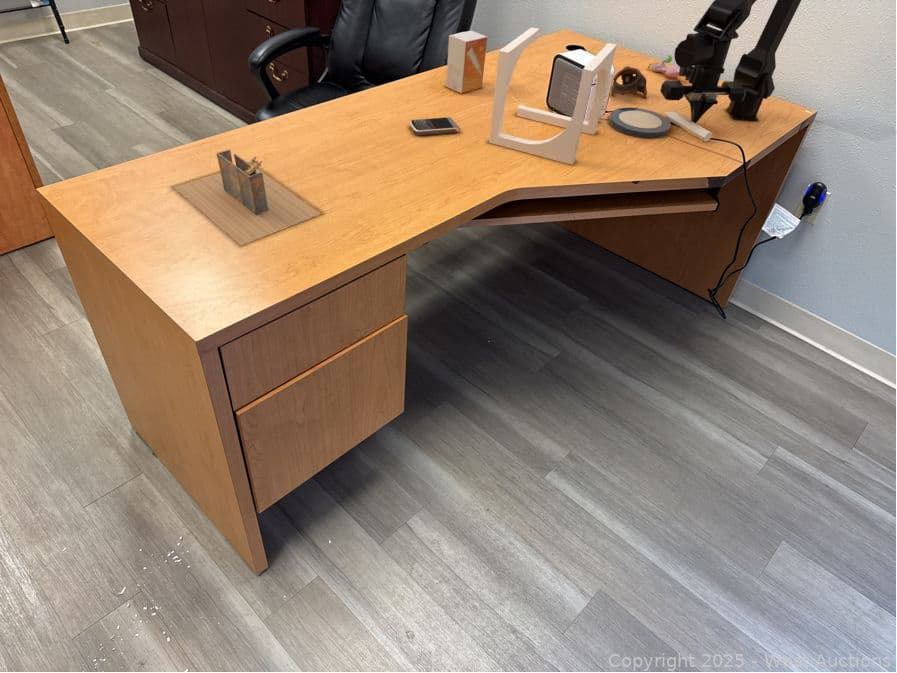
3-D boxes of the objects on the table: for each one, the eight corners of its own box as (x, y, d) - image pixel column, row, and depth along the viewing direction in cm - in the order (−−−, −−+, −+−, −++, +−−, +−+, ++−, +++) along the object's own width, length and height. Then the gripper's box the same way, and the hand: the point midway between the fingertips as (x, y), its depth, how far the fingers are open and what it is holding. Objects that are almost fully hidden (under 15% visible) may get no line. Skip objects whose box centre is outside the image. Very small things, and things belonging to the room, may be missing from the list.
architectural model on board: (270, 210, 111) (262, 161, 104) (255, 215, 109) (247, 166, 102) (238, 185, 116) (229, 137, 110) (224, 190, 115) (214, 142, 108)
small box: (461, 94, 158) (465, 41, 149) (445, 86, 161) (448, 34, 152) (482, 87, 162) (488, 36, 153) (466, 80, 165) (470, 29, 156)
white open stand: (488, 142, 137) (499, 50, 124) (519, 112, 151) (531, 27, 137) (572, 164, 132) (592, 71, 118) (596, 132, 145) (616, 44, 132)
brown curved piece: (652, 104, 162) (649, 79, 155) (617, 117, 165) (613, 93, 158) (641, 77, 168) (637, 52, 162) (607, 89, 171) (602, 66, 164)
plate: (661, 115, 156) (662, 109, 155) (675, 140, 145) (677, 134, 144) (603, 110, 155) (605, 105, 154) (614, 135, 144) (616, 129, 143)
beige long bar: (662, 118, 156) (706, 143, 146) (658, 114, 155) (702, 140, 144) (669, 108, 155) (714, 133, 145) (665, 105, 154) (709, 130, 143)
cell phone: (407, 125, 141) (408, 119, 140) (452, 122, 144) (452, 116, 143) (415, 137, 137) (415, 131, 136) (460, 133, 140) (461, 127, 139)
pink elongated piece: (643, 74, 181) (683, 83, 171) (646, 53, 178) (687, 60, 168) (657, 72, 184) (697, 80, 174) (660, 50, 181) (702, 58, 170)
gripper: (739, 49, 145) (719, 112, 156) (663, 48, 145) (647, 111, 156) (756, 65, 137) (733, 131, 148) (675, 64, 137) (658, 129, 148)
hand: (692, 125), depth 150 cm, fingers closed
